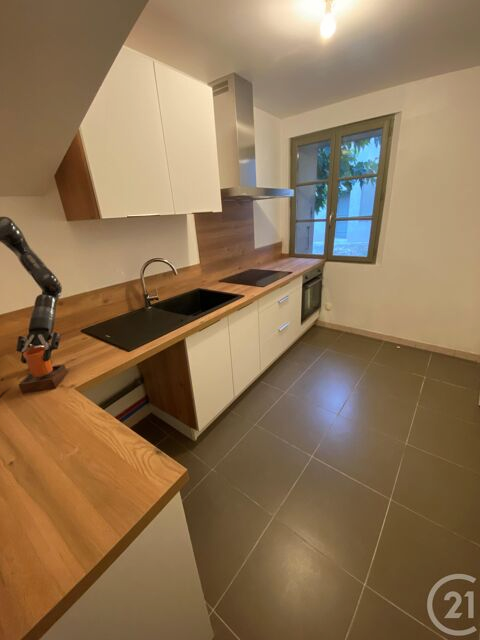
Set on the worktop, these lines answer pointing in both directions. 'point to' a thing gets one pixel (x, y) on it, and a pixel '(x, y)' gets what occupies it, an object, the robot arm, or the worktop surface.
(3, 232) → the robot arm
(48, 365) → the cup
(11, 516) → the worktop surface
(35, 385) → the cup stand
